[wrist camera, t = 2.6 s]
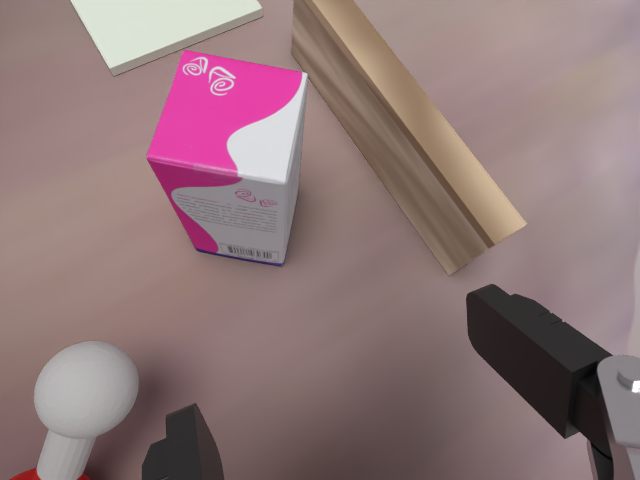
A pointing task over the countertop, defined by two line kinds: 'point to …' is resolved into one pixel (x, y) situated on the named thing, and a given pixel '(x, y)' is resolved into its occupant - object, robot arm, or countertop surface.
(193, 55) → the supplement box
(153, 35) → the mat
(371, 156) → the wooden plank offcut
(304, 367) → the countertop surface
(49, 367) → the molecular model
